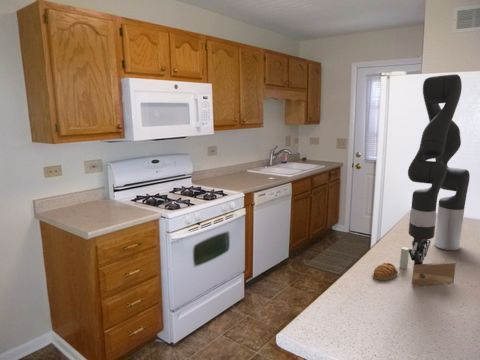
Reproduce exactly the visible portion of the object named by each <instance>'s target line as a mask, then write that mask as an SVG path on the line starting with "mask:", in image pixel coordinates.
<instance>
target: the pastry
mask: <svg viewBox="0 0 480 360" xmlns="http://www.w3.org/2000/svg"><path fill="white" fill-rule="evenodd" d="M398 274H399V272H398V270H397V268H396V266H395V265H394V264H393V263H390V262H384V263H381V264H380V265H377V266H376V267H374V270H373V273H372V275H373V278H374V279H376V280H378V281H383V282H384V281H388V280H391V279H393V278H395V277H396V276H397V275H398Z"/></svg>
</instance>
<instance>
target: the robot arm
mask: <svg viewBox="0 0 480 360" xmlns="http://www.w3.org/2000/svg"><path fill="white" fill-rule="evenodd" d="M462 84H463V83H462V79H461V76H460V75H459V74H444V75H443V74H442V75H435V76H430V77H427V78H425V79H424V81H423V83H422V96H423V97H422V98H423V100H424V105H425V108H426V112H427V117H428V120H429V122H428V123H427V125H426V126H425V127H424V129H423V132H422V135H421V139H420V144H419V148H418V151H417V152H416V155H415V156H414V158H413V159H412V161H411V163H409V166H408V169H407V177H408V178H409V180H410V181H411V182H413V183H418V184H429V185H431V186H430V187H428V188H420V189H415V190H414V191H413V192H412V198H411V209H410V212H409V221H408V235H409V236H411V237H412V238H413V239H412V241H411V246H412V247H411V248H409V256H410V260H411V261H413V266H414V265H416V264H424V260H425V258H427V255H428V251H429V247H430V245H431V239H433V238H434V243H433V245H434V246H435V247H436V248H437V249H438V248H439V249H441V250H446V251H458V250H460V245H461V239H462V232H463V231H462V230H463V223H464V217H465V206H466V201H467V200H466V199H467V194H468V190H469V184H470V176H471V175H470V174H471V173H470V171H469V170H468V169H465V168H457V167H449V166H448V163H449V161H450V160H451V159H452V157H454V156H455V155H456V153H458V151H459V149H460V148H461V146H462V138H461V130H460V127H459V126H458V125H457V123H456V122H455V121H454V120H453V118H454V115H455V112H456V109H457V107H458V105H459V101H460V98H461V96H462V95H461V94H462V89H463V88H462V86H463V85H462ZM440 104H444V105H443V107H442V108H441V106H440ZM432 159H434V160H435V161H432ZM441 190H444V191H453V192H455V194H454V195H451V196H446V197H441V198H440V199H438V196H439V192H440V191H441ZM437 202H438V204H437ZM437 205H438V206H437Z"/></svg>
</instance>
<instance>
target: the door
mask: <svg viewBox="0 0 480 360" xmlns="http://www.w3.org/2000/svg"><path fill="white" fill-rule="evenodd" d="M412 266H413V268H412V275H411V276H412V279H411V285H412V286H413V287H416V286H427V285H429V286H430V285H441V284H454V283H453V275H454V267H455V263H454V261H445V262H432V263H423V264H416V265H414V264H413V265H412Z"/></svg>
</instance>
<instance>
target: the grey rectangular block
mask: <svg viewBox="0 0 480 360" xmlns="http://www.w3.org/2000/svg"><path fill="white" fill-rule="evenodd" d="M409 250H410V248H409V247H406V246H403V247H401V249H400V260H399V262H400V263H399V269H403V270H407V269H408V267H409V264H408V263H409V256H410V254H409ZM453 262H454V263H455V267H454V275H453V283H452V284H454V283H455V278H456V277H455V275H456V269H457V261H453Z"/></svg>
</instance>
